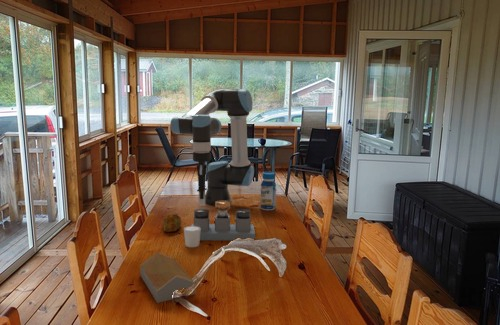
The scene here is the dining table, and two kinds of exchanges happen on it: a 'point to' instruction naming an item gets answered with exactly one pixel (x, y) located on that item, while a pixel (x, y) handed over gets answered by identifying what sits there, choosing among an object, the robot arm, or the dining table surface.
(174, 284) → the house model
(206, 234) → the mount
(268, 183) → the beverage bottle
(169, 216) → the rock
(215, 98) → the robot arm
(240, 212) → the knob
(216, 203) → the knob mid
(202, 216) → the knob
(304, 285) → the dining table surface
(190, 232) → the white candle
